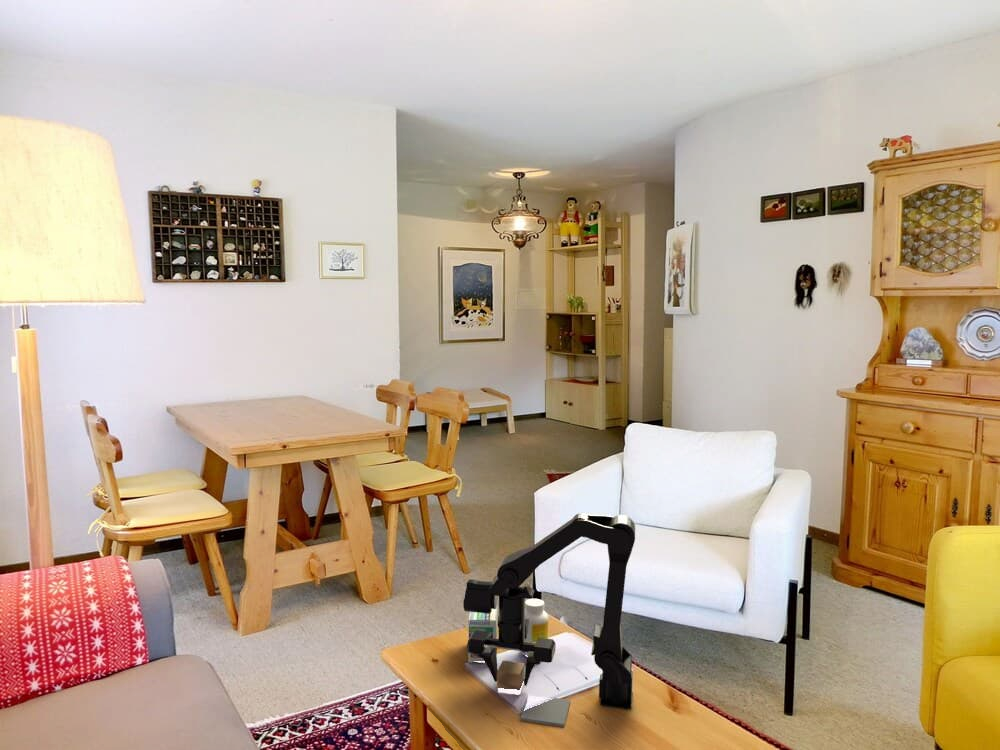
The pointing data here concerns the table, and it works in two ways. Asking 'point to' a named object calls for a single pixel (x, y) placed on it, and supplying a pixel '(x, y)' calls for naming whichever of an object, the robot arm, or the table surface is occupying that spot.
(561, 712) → the rubber mat
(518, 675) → the walnut cube
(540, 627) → the supplement bottle
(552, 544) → the robot arm
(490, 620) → the light bulb box
